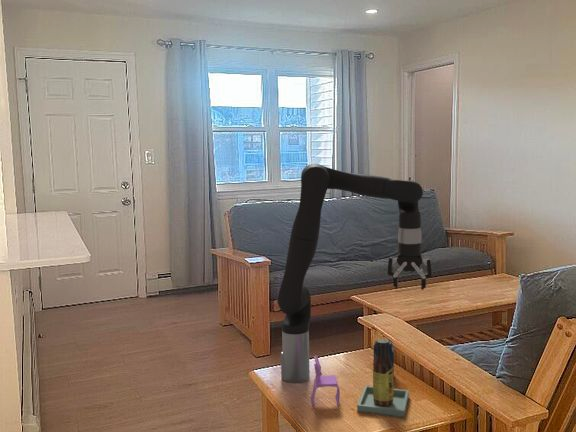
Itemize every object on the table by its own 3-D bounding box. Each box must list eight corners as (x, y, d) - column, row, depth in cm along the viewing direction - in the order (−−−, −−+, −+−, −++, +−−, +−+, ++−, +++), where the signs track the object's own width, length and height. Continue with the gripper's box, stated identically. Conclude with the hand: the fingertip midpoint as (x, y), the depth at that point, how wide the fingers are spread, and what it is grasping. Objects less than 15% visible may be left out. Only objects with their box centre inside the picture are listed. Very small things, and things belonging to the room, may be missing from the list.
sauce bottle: (393, 408, 165) (393, 345, 163) (372, 406, 167) (372, 344, 164) (393, 398, 172) (393, 337, 169) (373, 397, 173) (373, 337, 170)
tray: (357, 412, 165) (357, 405, 164) (365, 391, 178) (365, 385, 178) (404, 417, 160) (404, 410, 160) (408, 396, 174) (408, 390, 173)
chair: (340, 407, 168) (339, 361, 166) (312, 408, 168) (311, 362, 166) (337, 395, 176) (337, 351, 174) (310, 396, 176) (309, 351, 174)
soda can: (396, 373, 192) (396, 340, 190) (389, 380, 186) (389, 346, 184) (378, 369, 196) (378, 337, 194) (370, 376, 190) (370, 343, 188)
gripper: (386, 242, 179) (386, 290, 181) (431, 243, 174) (430, 292, 176) (389, 238, 186) (389, 284, 188) (432, 239, 181) (432, 286, 183)
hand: (409, 288), depth 182 cm, fingers open, 8 cm apart
